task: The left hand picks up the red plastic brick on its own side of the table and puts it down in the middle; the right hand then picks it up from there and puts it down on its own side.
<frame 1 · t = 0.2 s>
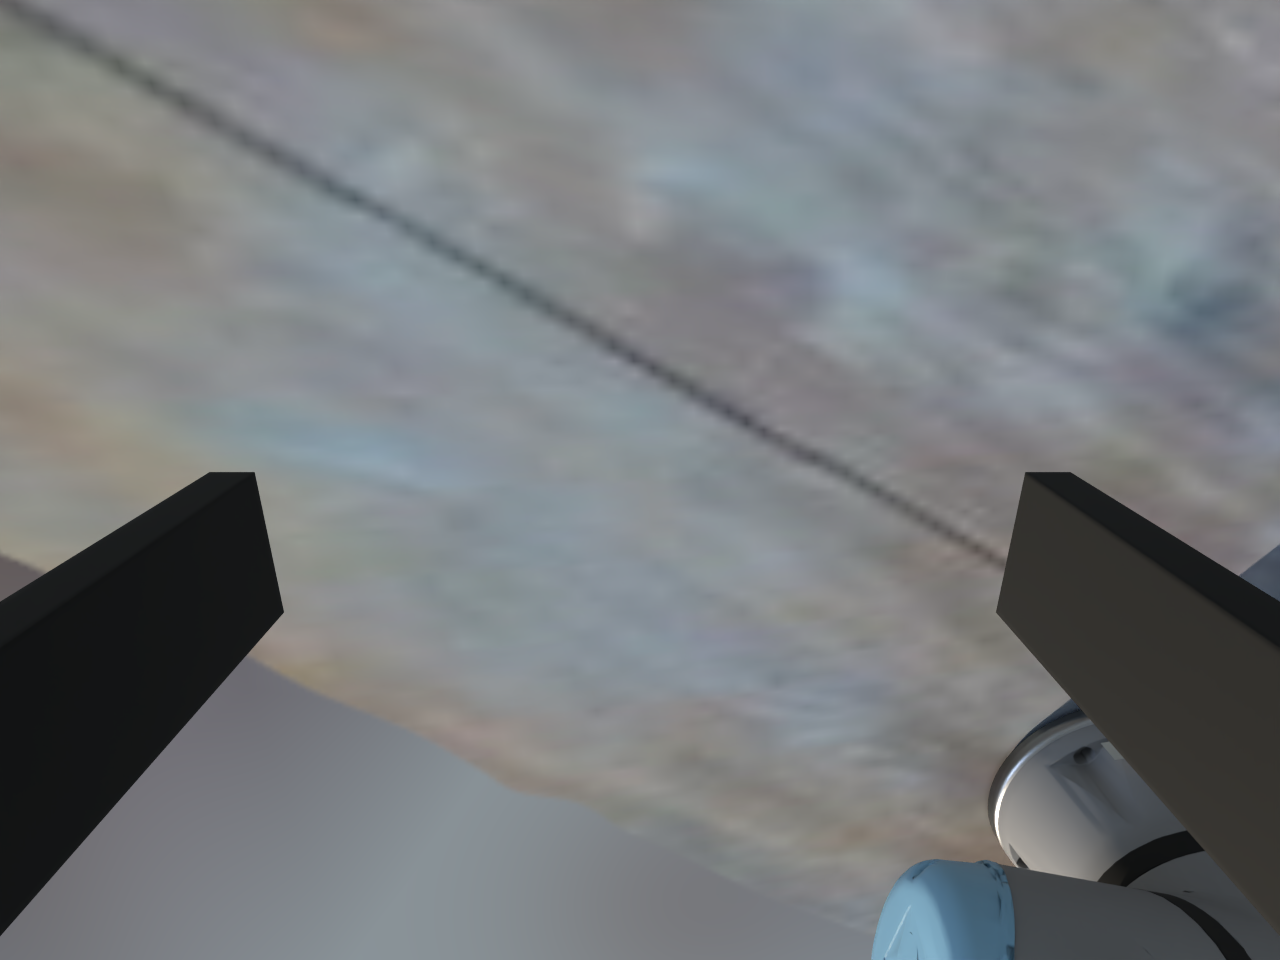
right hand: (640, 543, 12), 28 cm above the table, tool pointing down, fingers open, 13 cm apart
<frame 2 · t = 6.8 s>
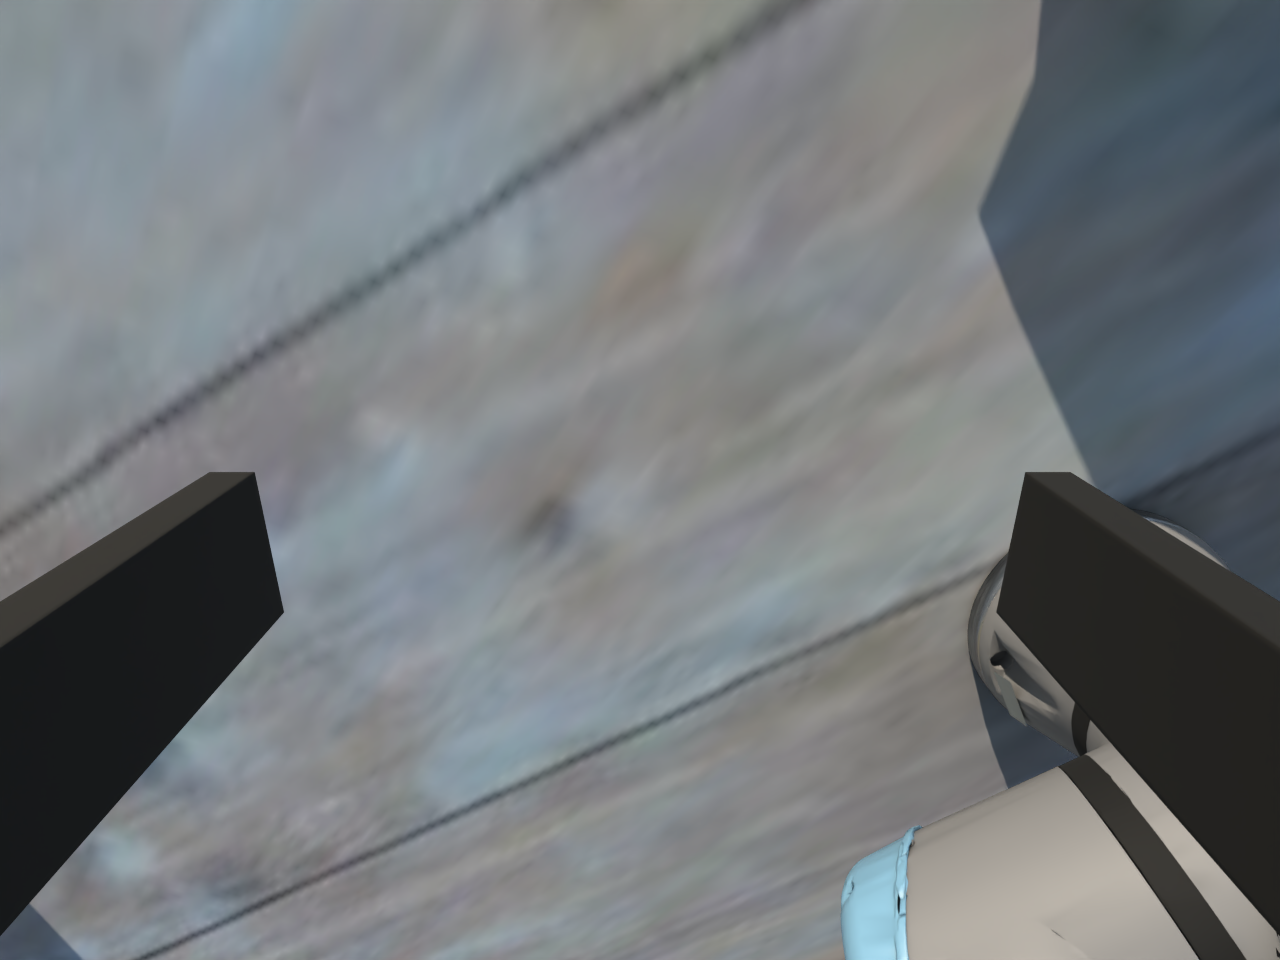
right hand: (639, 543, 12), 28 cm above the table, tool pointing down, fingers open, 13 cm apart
when the left hand's fingers open (2 cm above the table, at t = 17.4 s): brick drops 1 cm, on the table.
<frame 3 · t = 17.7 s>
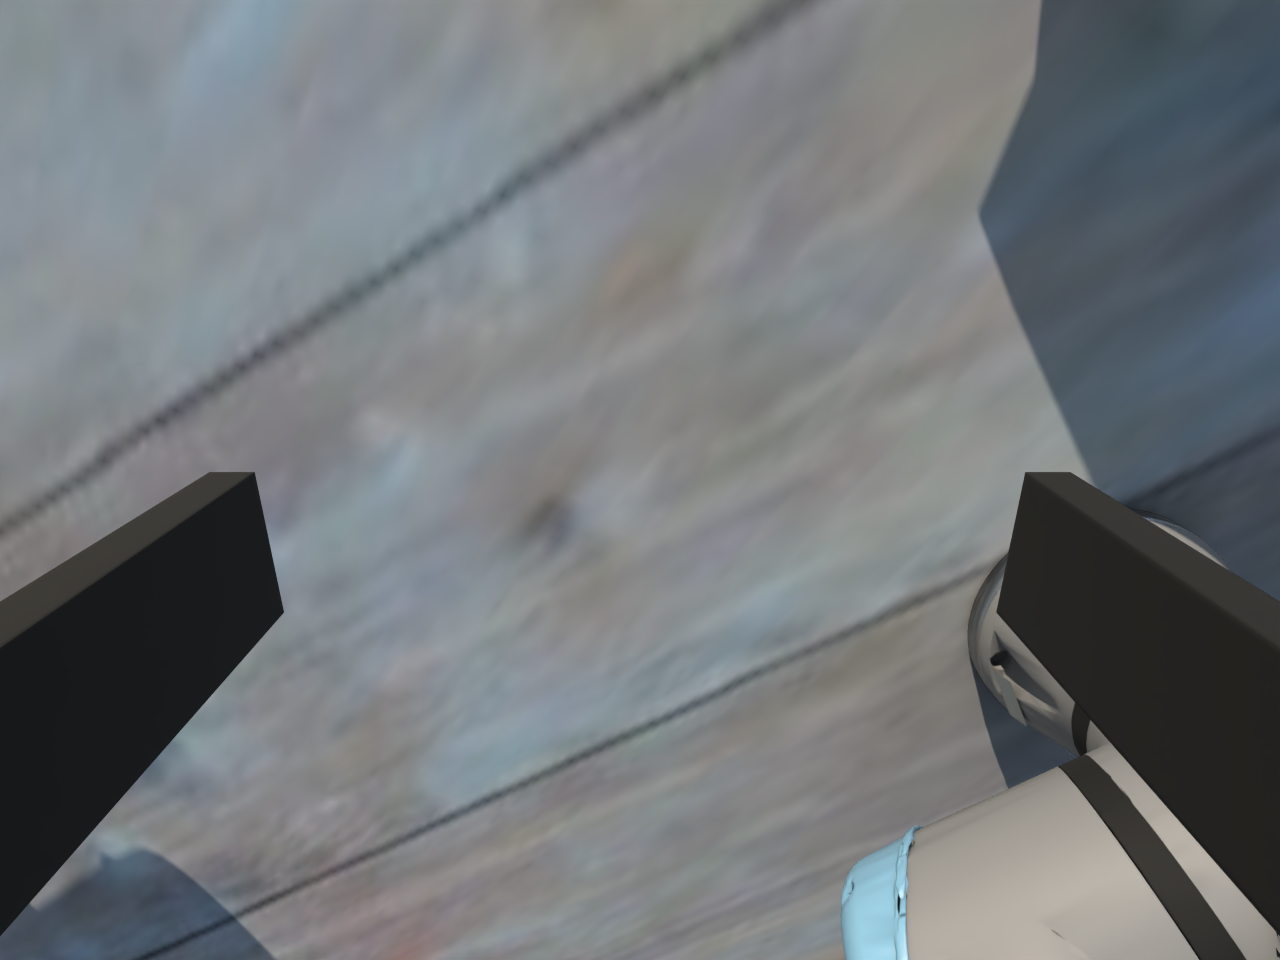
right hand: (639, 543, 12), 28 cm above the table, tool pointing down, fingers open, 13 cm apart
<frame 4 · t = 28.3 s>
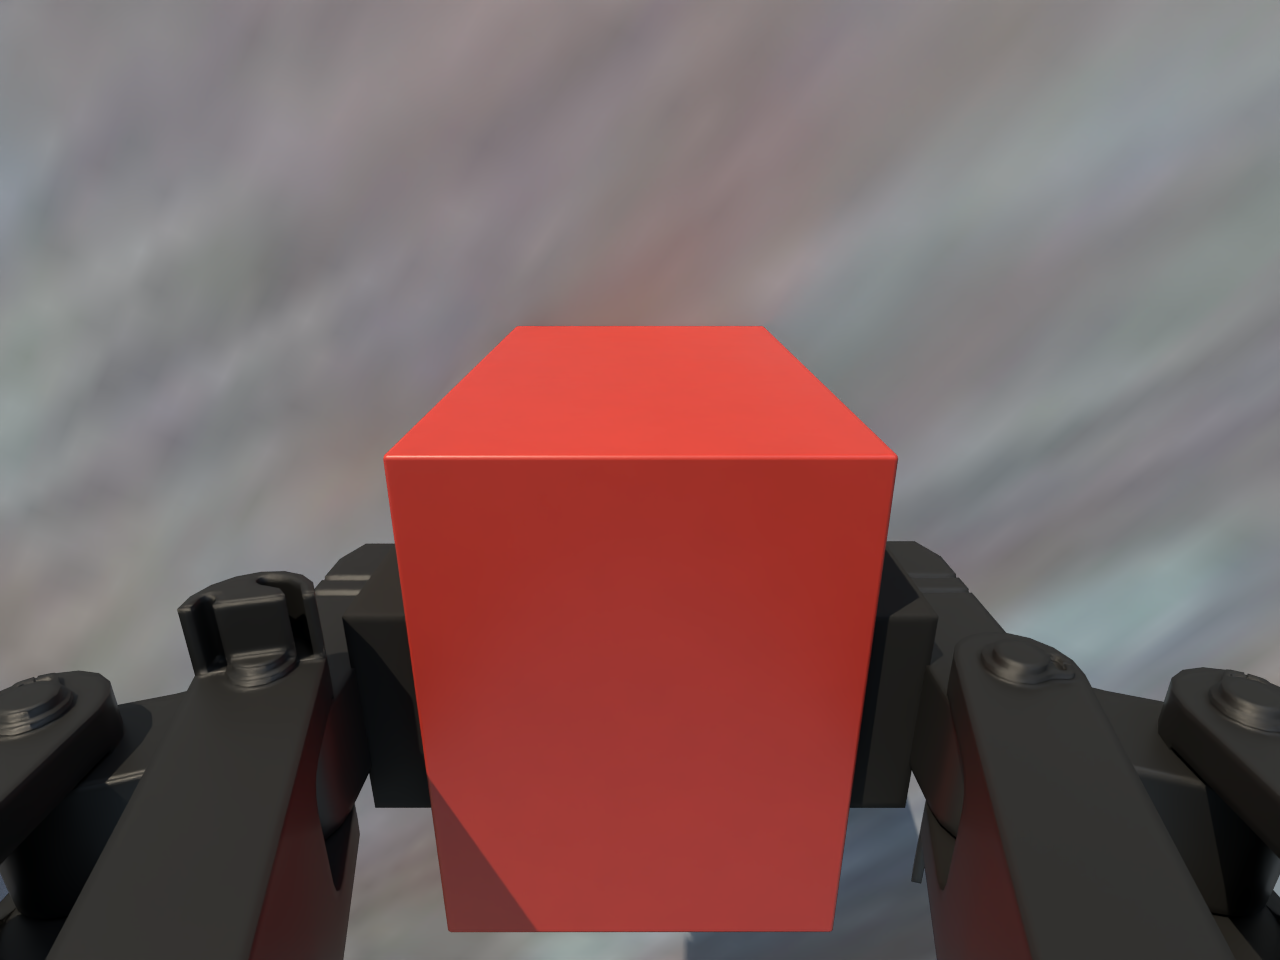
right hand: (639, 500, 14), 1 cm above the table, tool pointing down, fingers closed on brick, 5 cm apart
brick: (639, 477, 15), on the table, touching right hand
when the right hand's fingers open (3 cm above the table, at t = 34.0 s): brick drops 1 cm, on the table.
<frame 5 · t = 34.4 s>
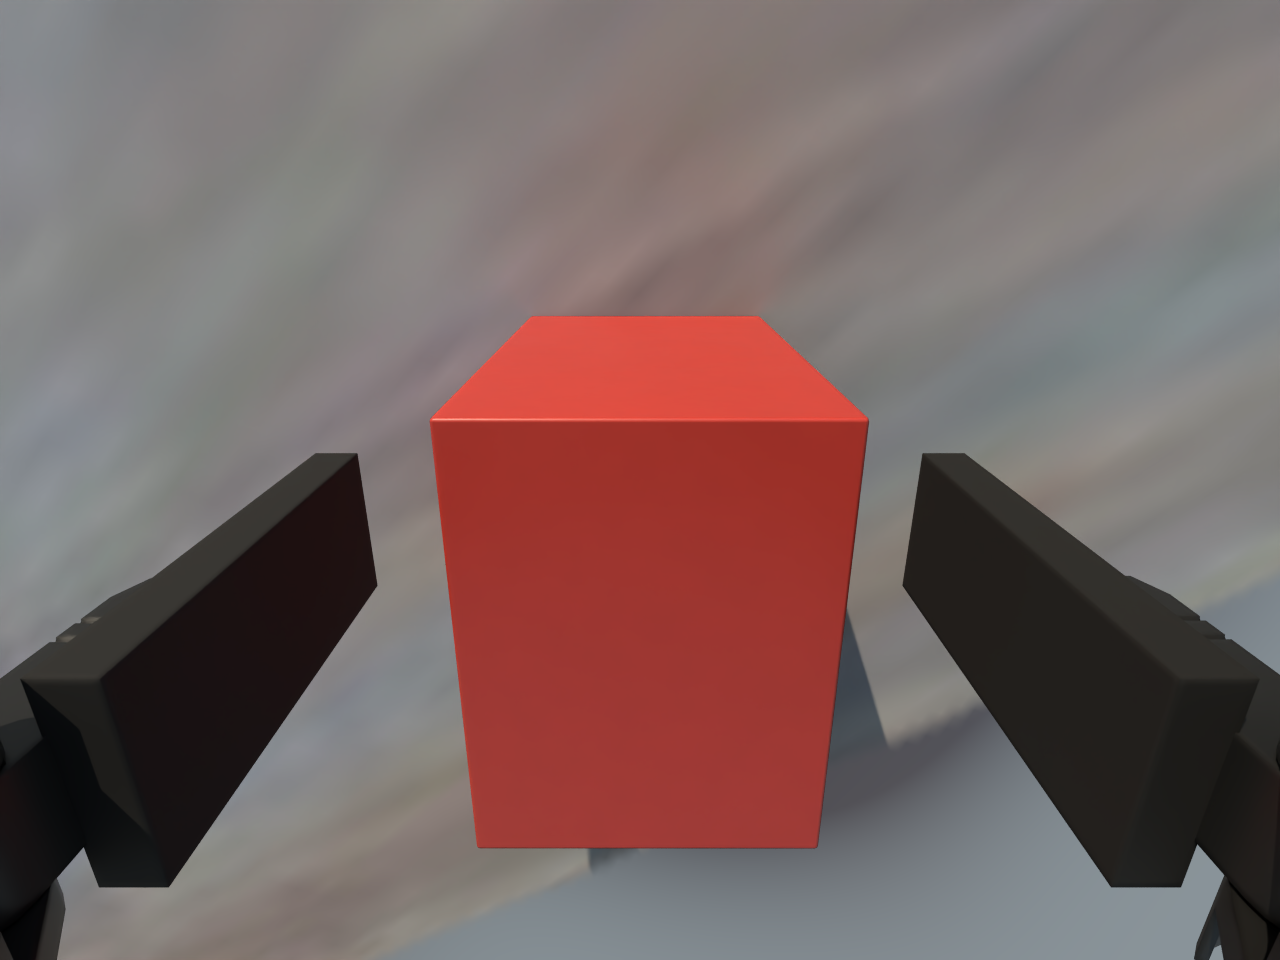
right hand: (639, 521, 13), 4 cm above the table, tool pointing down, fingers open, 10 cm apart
brick: (644, 457, 17), on the table
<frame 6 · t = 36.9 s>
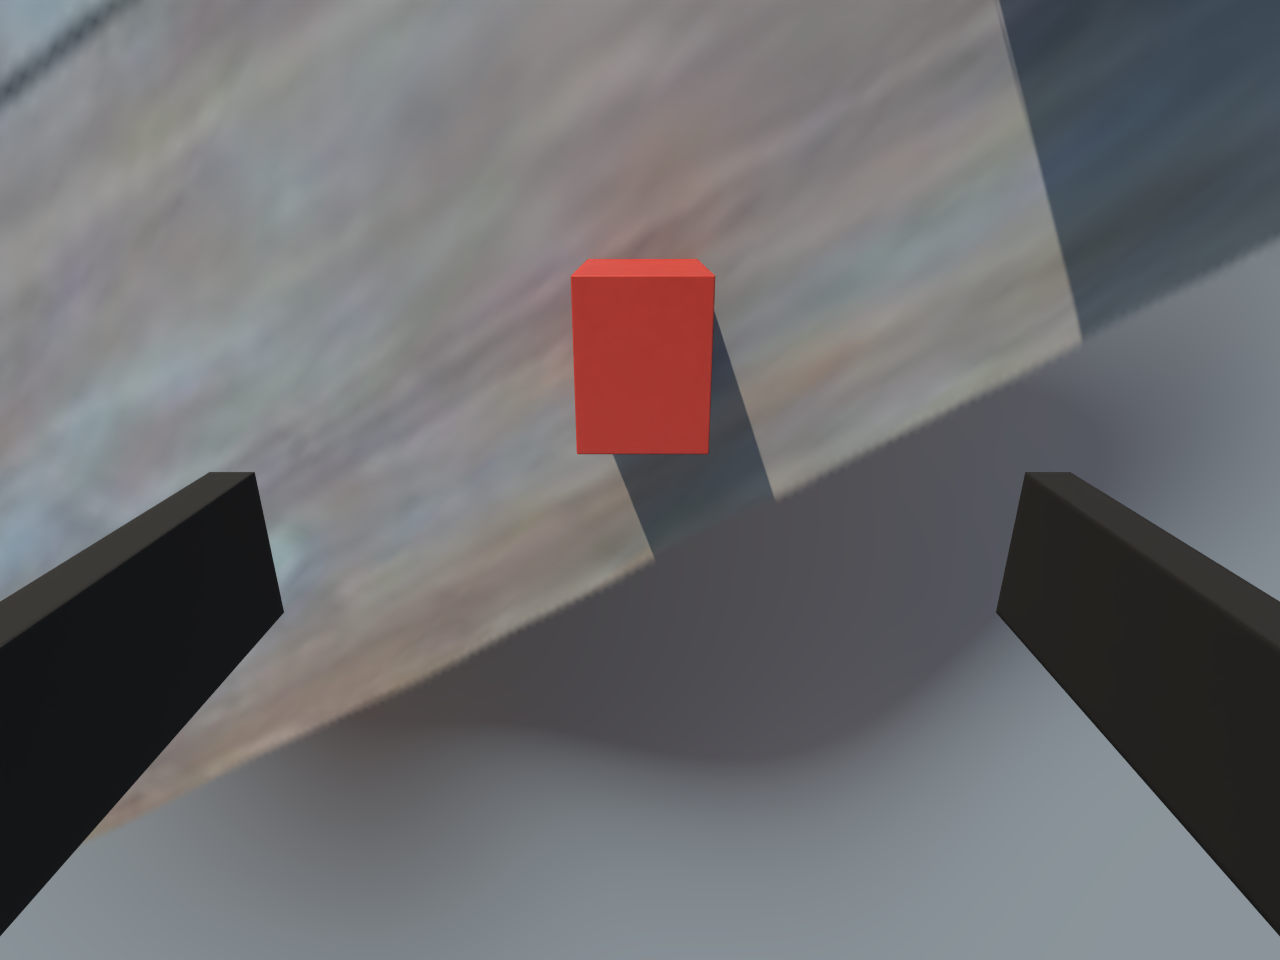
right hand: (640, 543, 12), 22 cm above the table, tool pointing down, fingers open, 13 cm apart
brick: (642, 332, 33), on the table
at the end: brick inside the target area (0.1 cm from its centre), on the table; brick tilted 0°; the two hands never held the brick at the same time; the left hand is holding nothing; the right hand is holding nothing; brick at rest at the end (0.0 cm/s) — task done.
